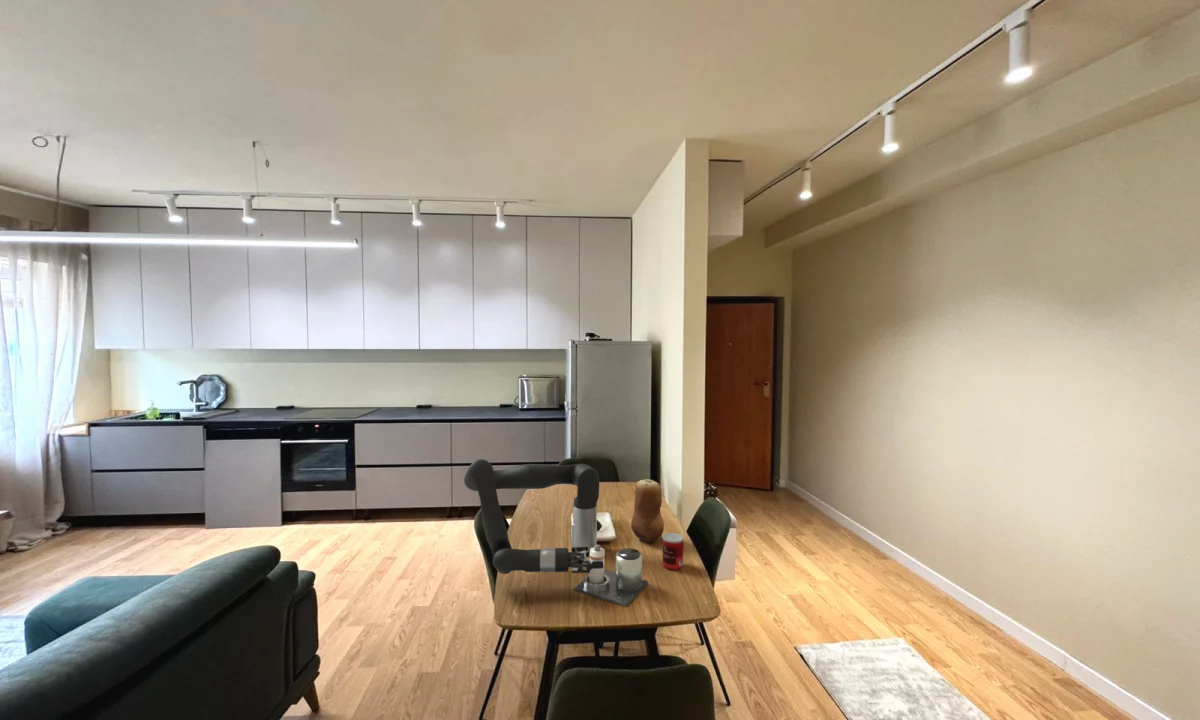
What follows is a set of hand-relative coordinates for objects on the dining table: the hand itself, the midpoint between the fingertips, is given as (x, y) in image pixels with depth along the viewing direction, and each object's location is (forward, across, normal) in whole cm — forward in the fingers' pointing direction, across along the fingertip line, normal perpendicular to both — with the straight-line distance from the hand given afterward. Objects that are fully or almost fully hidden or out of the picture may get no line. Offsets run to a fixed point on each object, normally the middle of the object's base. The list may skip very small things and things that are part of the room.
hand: (602, 558), depth 166 cm
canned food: (+27, +14, +10) cm, 32 cm away
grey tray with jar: (+3, 0, +10) cm, 10 cm away
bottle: (-2, 0, +9) cm, 9 cm away
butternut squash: (+22, +37, +10) cm, 44 cm away
